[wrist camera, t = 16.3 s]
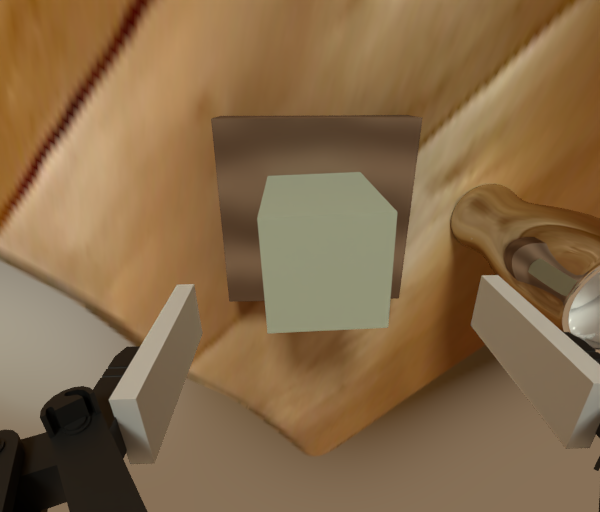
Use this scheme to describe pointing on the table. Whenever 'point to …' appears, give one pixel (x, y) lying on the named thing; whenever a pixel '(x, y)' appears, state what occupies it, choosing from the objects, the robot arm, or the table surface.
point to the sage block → (325, 252)
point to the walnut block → (306, 160)
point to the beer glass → (538, 254)
